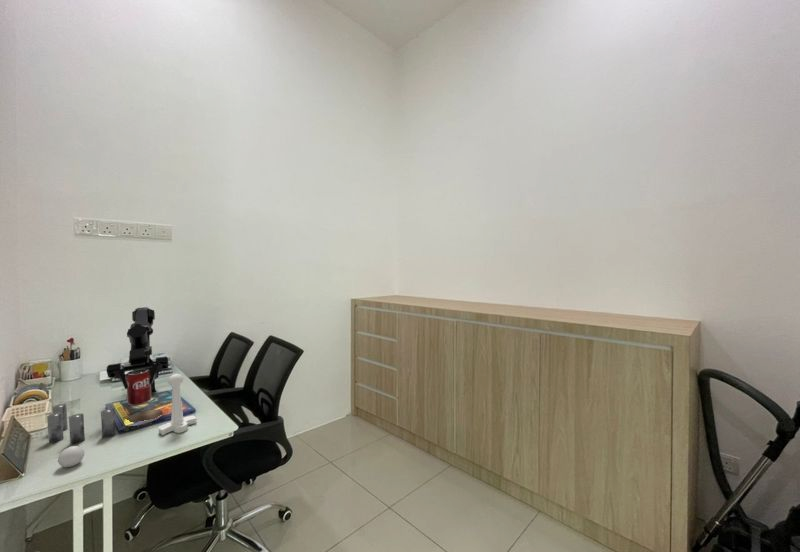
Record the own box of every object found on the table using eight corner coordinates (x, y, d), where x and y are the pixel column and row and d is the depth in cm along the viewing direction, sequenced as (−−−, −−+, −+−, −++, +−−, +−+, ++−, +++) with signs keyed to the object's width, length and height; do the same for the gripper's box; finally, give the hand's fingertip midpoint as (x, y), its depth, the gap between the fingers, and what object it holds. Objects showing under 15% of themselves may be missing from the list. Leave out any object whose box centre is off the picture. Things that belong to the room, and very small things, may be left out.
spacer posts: (62, 427, 119) (61, 403, 119) (118, 433, 115) (117, 408, 114) (30, 440, 110) (28, 415, 110) (89, 448, 106) (87, 421, 105)
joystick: (192, 420, 124) (190, 368, 123) (200, 426, 119) (198, 372, 118) (157, 432, 115) (154, 377, 114) (164, 439, 110) (162, 382, 109)
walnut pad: (157, 409, 133) (157, 406, 133) (167, 417, 126) (166, 415, 126) (120, 420, 124) (119, 418, 124) (127, 430, 116) (127, 427, 116)
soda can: (156, 398, 128) (154, 368, 127) (140, 406, 121) (139, 374, 120) (138, 397, 128) (137, 368, 128) (122, 406, 121) (120, 374, 120)
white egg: (90, 459, 99) (89, 441, 99) (72, 471, 94) (71, 452, 94) (65, 460, 99) (64, 442, 99) (45, 472, 94) (44, 453, 93)
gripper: (105, 344, 121) (102, 381, 113) (166, 336, 132) (167, 370, 123) (110, 359, 128) (107, 396, 120) (168, 351, 139) (168, 384, 130)
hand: (138, 386), depth 123 cm, fingers closed on soda can, 7 cm apart
